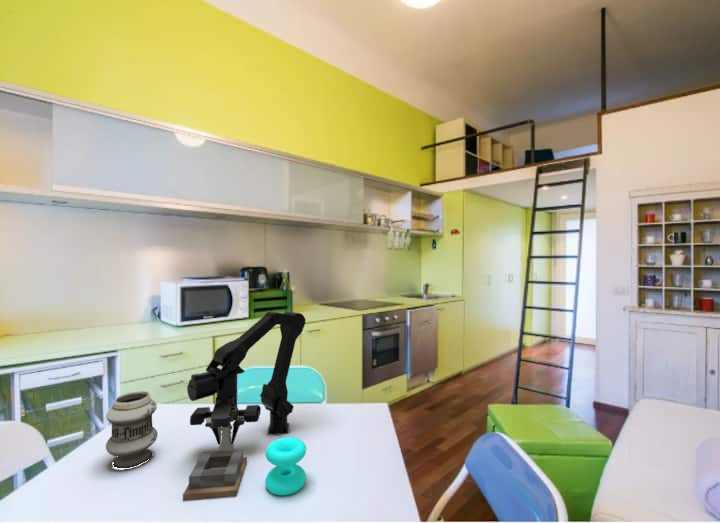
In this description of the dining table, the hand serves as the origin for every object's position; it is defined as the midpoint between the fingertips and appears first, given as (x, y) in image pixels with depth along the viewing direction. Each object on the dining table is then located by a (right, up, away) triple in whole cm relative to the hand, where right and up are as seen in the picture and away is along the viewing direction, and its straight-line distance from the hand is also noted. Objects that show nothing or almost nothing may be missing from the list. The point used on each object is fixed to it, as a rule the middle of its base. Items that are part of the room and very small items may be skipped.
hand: (226, 443), depth 100 cm
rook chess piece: (0, -3, 0) cm, 3 cm away
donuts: (+21, -3, -14) cm, 25 cm away
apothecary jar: (-25, -2, -5) cm, 25 cm away
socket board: (+3, -3, -13) cm, 13 cm away
